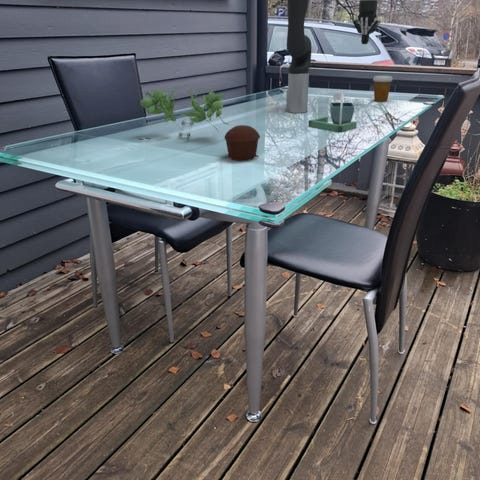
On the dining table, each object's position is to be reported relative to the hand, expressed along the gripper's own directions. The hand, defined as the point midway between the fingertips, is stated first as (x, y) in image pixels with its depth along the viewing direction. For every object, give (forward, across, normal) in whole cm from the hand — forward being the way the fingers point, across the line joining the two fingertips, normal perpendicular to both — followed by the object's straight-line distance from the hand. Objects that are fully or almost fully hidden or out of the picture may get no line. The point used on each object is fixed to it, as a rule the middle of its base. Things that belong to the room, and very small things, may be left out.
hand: (364, 44), depth 201 cm
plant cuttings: (+29, -21, -81) cm, 89 cm away
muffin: (+29, +16, -87) cm, 93 cm away
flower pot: (+29, +13, -31) cm, 44 cm away
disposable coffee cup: (+29, -8, +30) cm, 43 cm away
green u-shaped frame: (+29, +11, -34) cm, 46 cm away
